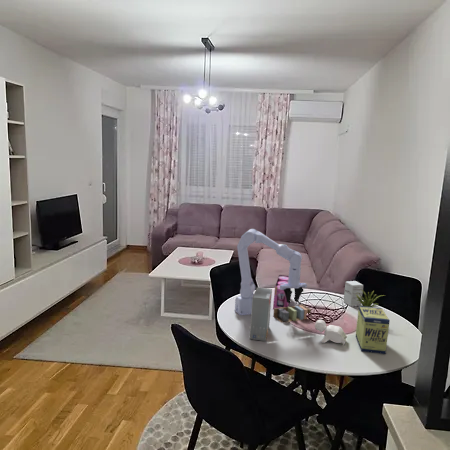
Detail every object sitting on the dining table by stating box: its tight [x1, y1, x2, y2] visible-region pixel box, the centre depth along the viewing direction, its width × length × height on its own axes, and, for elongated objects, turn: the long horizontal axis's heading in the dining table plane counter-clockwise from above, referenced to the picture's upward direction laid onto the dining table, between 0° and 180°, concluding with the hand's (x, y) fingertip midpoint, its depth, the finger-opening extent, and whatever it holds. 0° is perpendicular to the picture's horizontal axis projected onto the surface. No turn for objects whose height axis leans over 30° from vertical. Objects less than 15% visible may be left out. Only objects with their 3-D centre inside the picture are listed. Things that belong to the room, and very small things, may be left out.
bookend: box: [278, 308, 289, 323], centre depth 208 cm, size 3×6×4 cm, turn 22°
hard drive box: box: [249, 286, 273, 342], centre depth 190 cm, size 16×8×20 cm, turn 168°
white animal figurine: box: [314, 319, 348, 346], centre depth 188 cm, size 9×8×15 cm
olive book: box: [287, 306, 297, 322], centre depth 210 cm, size 2×6×5 cm, turn 22°
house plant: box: [356, 289, 386, 308], centre depth 212 cm, size 14×14×16 cm
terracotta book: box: [299, 304, 308, 320], centre depth 212 cm, size 2×6×5 cm, turn 22°
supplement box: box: [342, 280, 364, 307], centre depth 236 cm, size 7×7×13 cm
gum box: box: [272, 274, 290, 310], centre depth 230 cm, size 24×8×14 cm, turn 167°
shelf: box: [272, 303, 312, 324], centre depth 211 cm, size 17×8×6 cm, turn 112°
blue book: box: [294, 305, 304, 321], centre depth 212 cm, size 2×6×5 cm, turn 22°
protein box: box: [355, 306, 390, 355], centre depth 184 cm, size 10×16×16 cm
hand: (292, 301), depth 209 cm, fingers open, 4 cm apart
